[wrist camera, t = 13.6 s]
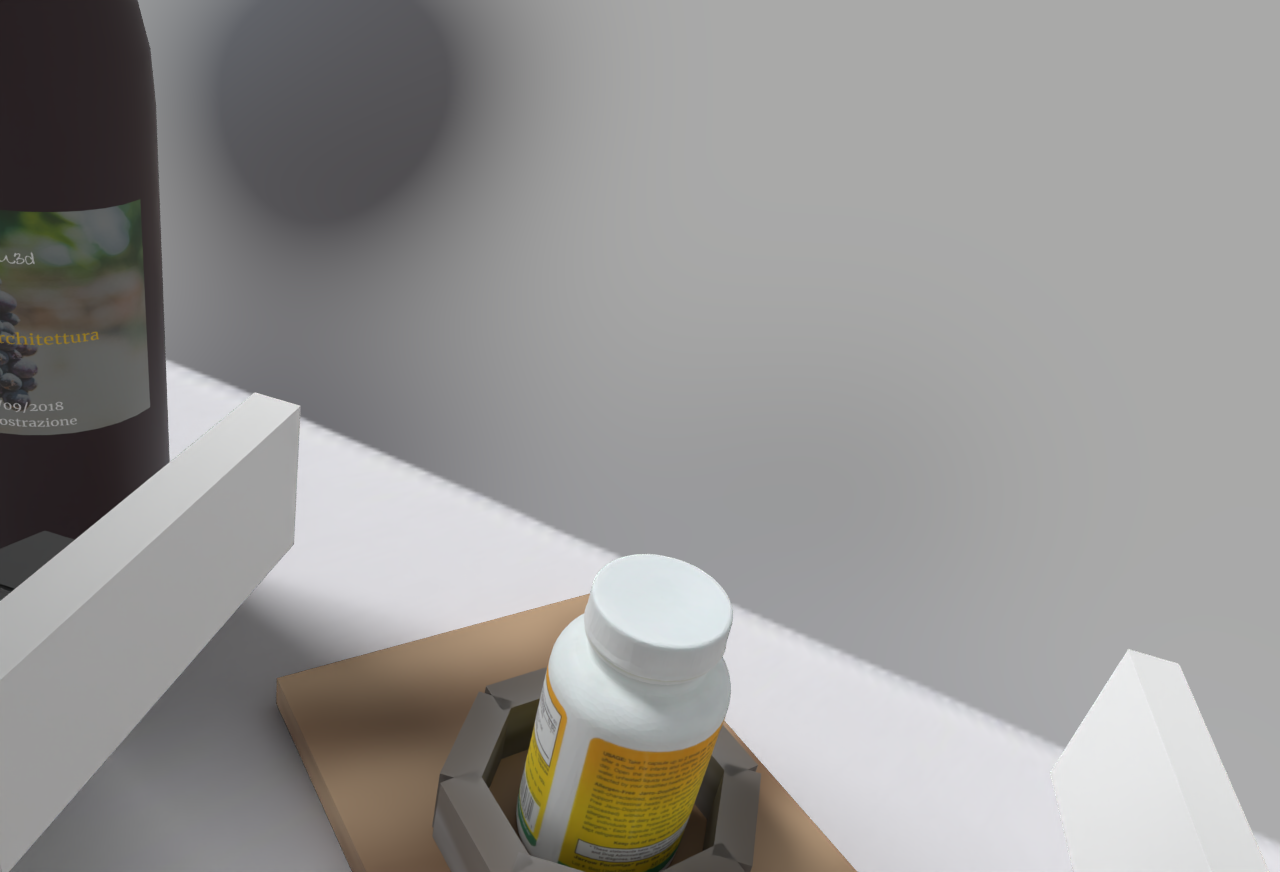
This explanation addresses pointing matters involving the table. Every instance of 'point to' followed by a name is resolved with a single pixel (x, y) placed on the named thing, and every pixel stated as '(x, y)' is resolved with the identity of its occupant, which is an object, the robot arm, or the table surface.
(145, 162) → the wine bottle
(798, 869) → the board
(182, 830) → the table surface
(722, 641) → the supplement bottle
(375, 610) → the table surface
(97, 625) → the robot arm
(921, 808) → the table surface
